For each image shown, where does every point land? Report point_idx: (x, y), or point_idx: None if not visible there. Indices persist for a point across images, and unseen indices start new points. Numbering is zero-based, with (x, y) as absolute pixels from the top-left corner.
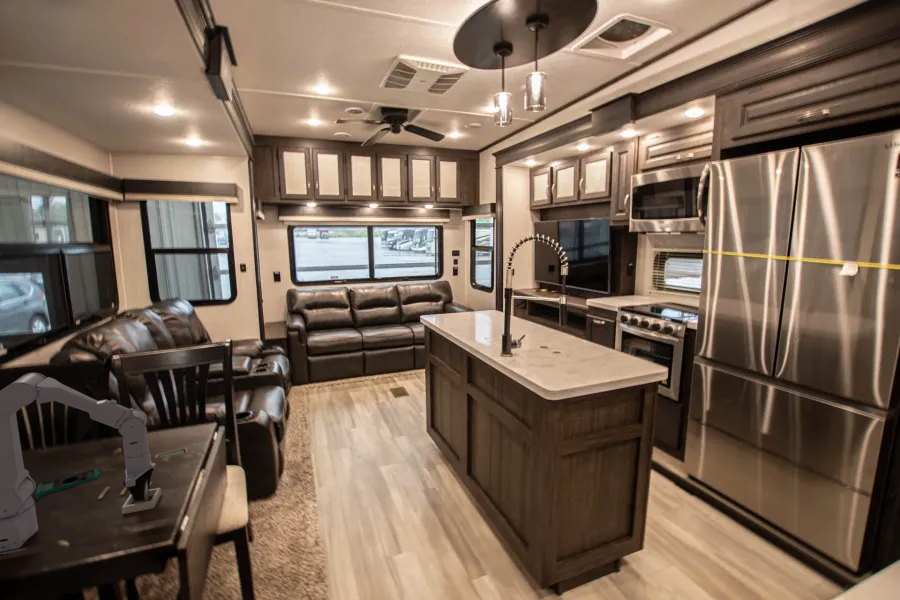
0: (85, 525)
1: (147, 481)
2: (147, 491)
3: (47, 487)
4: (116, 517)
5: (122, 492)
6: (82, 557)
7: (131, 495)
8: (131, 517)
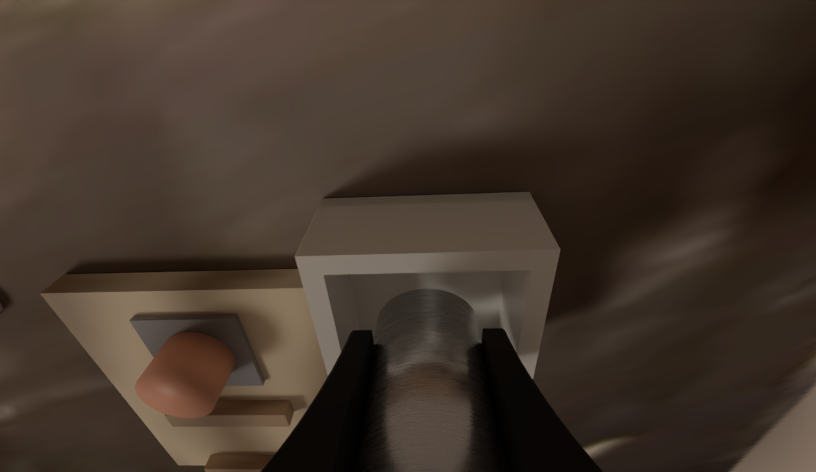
0: None
1: (348, 430)
2: (436, 349)
3: None
4: None
5: (272, 421)
6: (781, 384)
7: None
8: None
